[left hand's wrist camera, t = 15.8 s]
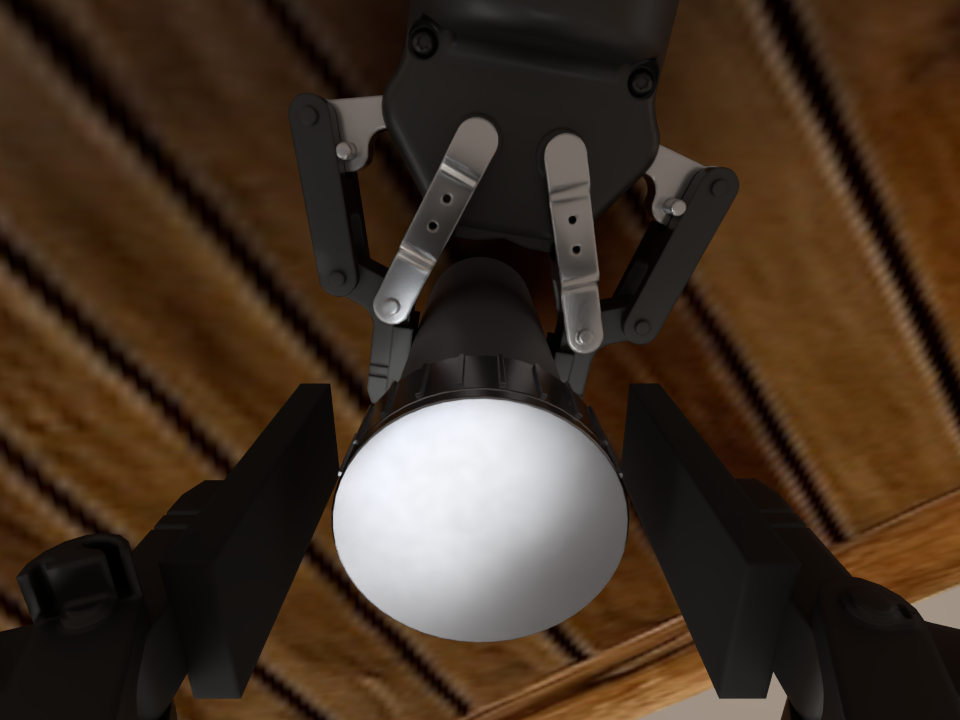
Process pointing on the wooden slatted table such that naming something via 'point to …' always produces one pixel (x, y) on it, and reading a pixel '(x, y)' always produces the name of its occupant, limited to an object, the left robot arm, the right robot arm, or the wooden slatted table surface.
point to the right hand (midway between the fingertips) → (469, 421)
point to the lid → (480, 501)
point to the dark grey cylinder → (480, 318)
